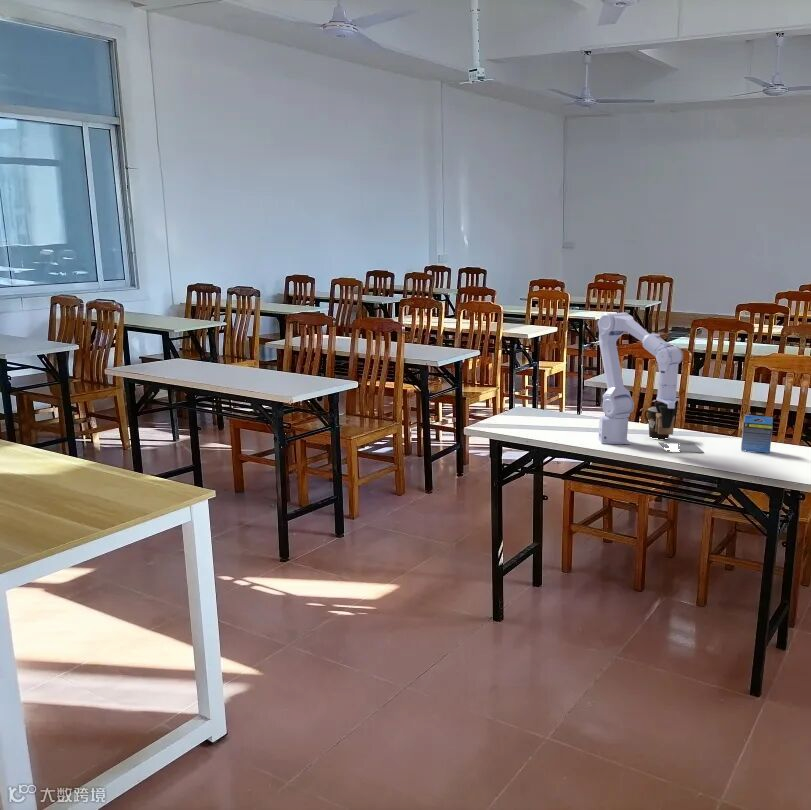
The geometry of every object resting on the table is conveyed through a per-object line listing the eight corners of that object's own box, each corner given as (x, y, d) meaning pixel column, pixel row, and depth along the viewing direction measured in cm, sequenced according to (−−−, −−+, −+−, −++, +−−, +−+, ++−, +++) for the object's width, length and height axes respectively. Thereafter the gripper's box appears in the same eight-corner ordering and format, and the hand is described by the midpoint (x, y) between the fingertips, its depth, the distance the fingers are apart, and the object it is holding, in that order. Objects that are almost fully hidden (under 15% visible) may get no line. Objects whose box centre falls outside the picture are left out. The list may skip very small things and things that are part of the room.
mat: (666, 452, 271) (666, 451, 271) (658, 443, 283) (658, 442, 283) (703, 453, 271) (703, 452, 271) (694, 444, 282) (694, 443, 282)
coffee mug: (674, 440, 287) (676, 412, 285) (649, 440, 287) (651, 412, 285) (665, 433, 298) (667, 406, 296) (641, 432, 299) (642, 405, 297)
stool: (657, 434, 265) (659, 415, 264) (654, 431, 270) (656, 412, 268) (673, 434, 265) (675, 416, 264) (670, 431, 269) (671, 413, 268)
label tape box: (769, 451, 274) (773, 414, 272) (769, 454, 271) (773, 417, 268) (740, 448, 278) (744, 412, 275) (740, 451, 274) (744, 414, 272)
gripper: (686, 388, 257) (682, 431, 259) (674, 381, 271) (671, 421, 274) (662, 388, 257) (659, 431, 260) (652, 380, 271) (649, 421, 274)
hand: (664, 426), depth 267 cm, fingers closed on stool, 4 cm apart
